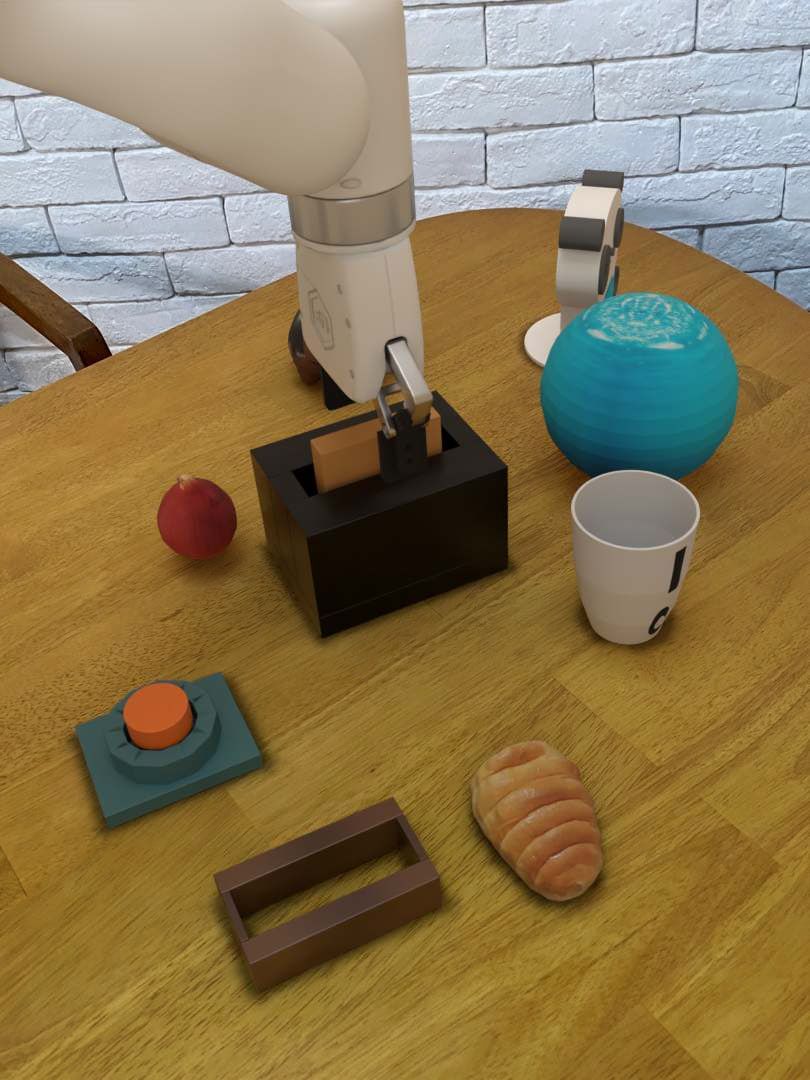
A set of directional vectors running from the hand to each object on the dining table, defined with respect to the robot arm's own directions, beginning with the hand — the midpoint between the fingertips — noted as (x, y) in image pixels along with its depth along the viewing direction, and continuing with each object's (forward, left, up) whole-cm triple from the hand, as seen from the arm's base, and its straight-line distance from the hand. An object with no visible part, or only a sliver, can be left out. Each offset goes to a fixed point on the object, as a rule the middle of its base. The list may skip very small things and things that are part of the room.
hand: (374, 438), depth 78 cm
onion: (-12, +7, -11) cm, 18 cm away
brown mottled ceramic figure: (+8, +26, -11) cm, 29 cm away
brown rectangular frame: (-15, -25, -11) cm, 31 cm away
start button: (-20, -10, -9) cm, 24 cm away
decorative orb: (+22, 0, -11) cm, 25 cm away
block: (-20, -10, -11) cm, 25 cm away
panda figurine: (+29, +18, -11) cm, 36 cm away
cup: (+12, -14, -11) cm, 22 cm away
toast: (0, 0, -9) cm, 9 cm away
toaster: (0, 0, -11) cm, 11 cm away
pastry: (-2, -26, -11) cm, 28 cm away
